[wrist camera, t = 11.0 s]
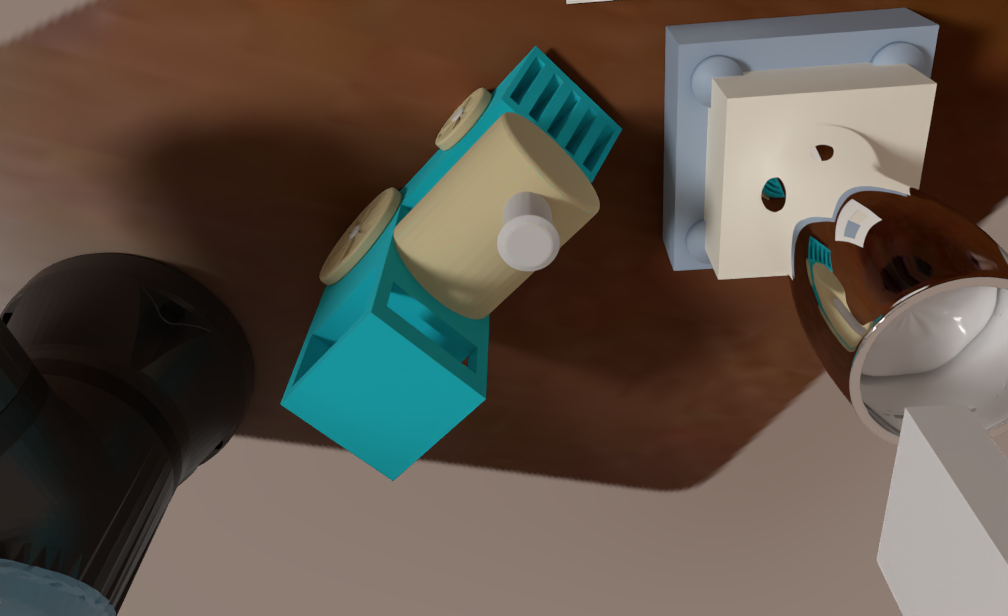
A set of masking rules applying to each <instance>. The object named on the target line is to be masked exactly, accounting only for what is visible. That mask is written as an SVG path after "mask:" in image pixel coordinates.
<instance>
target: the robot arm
mask: <svg viewBox="0 0 1008 616" xmlns="http://www.w3.org/2000/svg"><path fill="white" fill-rule="evenodd" d="M253 386H254V366H253V359H252V355H251V351H250V348H249V345H248V343H247V340H246V338H245V336H244V334H243V332H242V330H241V328H240V327H239V325H238V323H237V322H236V320H235V319H234V317H233V316H232V315H231V314H230V312H229V311H228V310H227V309H226V308H225V306H224V305H223V304H222V303H221V302H220V301H219V300H218V299H217V298H216V297H215V296H214V295H212V294H211V293H210V292H209V291H208V290H207V289H205V288H204V287H203V286H201V285H200V284H199V283H197V282H196V281H194V280H193V279H191V278H189V277H188V276H186V275H184V274H182V273H181V272H179V271H177V270H175V269H172V268H170V267H168V266H165V265H163V264H160V263H158V262H155V261H152V260H148V259H145V258H141V257H136V256H131V255H125V254H115V253H95V254H86V255H80V256H75V257H72V258H68V259H65V260H62V261H59V262H57V263H55V264H53V265H51V266H49V267H47V268H45V269H44V270H42V271H41V272H39V273H38V274H37V275H36V276H34V277H33V278H32V279H31V280H30V281H29V282H28V283H27V284H26V285H25V286H24V287H23V288H22V289H21V290H20V291H19V292H18V293H17V294H16V295H15V296H14V297H13V298H12V299H11V300H10V302H9V303H8V304H7V306H6V307H5V309H4V310H3V312H2V313H1V315H0V616H117V614H118V612H119V609H120V607H121V605H122V603H123V601H124V599H125V597H126V594H127V592H128V590H129V588H130V586H131V584H132V582H133V580H134V577H135V575H136V573H137V571H138V569H139V567H140V564H141V562H142V560H143V558H144V556H145V554H146V552H147V550H148V547H149V545H150V543H151V541H152V539H153V537H154V535H155V532H156V530H157V528H158V526H159V524H160V522H161V520H162V517H163V515H164V513H165V511H166V509H167V507H168V504H169V502H170V500H171V498H172V496H173V494H174V492H175V490H176V488H177V487H178V486H179V485H180V484H181V483H182V482H183V481H185V480H186V479H187V478H188V477H189V476H190V475H191V474H192V473H193V472H194V471H195V470H196V469H197V467H198V466H199V465H201V464H203V463H205V462H206V461H208V460H209V459H211V458H212V457H213V456H214V455H216V454H217V453H218V452H219V451H220V450H221V449H222V448H223V447H224V446H225V445H226V444H227V443H228V442H229V440H230V439H231V438H232V436H233V435H234V433H235V432H236V430H237V429H238V427H239V425H240V422H241V420H242V418H243V416H244V414H245V411H246V409H247V407H248V405H249V402H250V399H251V396H252V392H253ZM877 562H878V564H879V567H880V569H881V571H882V573H883V575H884V577H885V579H886V581H887V583H888V585H889V587H890V589H891V591H892V594H893V596H894V598H895V600H896V602H897V604H898V606H899V608H900V610H901V612H902V614H903V616H1008V459H1007V458H1006V457H1005V456H1004V454H1003V453H1002V452H1001V450H1000V449H999V448H998V446H997V445H996V444H995V442H994V441H993V440H992V438H991V437H990V436H989V434H988V433H987V432H986V430H985V429H984V428H983V426H982V425H981V424H980V422H979V421H978V420H977V418H976V417H975V416H974V414H973V413H972V412H971V410H970V409H969V408H968V406H967V405H966V404H954V405H936V406H918V407H905V411H904V417H903V422H902V427H901V433H900V438H899V443H898V449H897V454H896V459H895V464H894V470H893V475H892V480H891V486H890V491H889V497H888V502H887V507H886V513H885V518H884V523H883V529H882V534H881V540H880V544H879V549H878V556H877Z"/></svg>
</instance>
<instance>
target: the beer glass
mask: <svg viewBox="0 0 1008 616" xmlns="http://www.w3.org/2000/svg"><path fill="white" fill-rule="evenodd" d="M748 201H749V208H750V212H751V215H752V218H753V220H754V222H755V224H756V226H757V227H758V228H759V230H760V231H761V232H762V233H763V235H764V236H765V237H766V238H768V239H769V240H770V241H771V242H772V243H773V244H775V245H776V246H777V247H779V248H780V249H781V250H782V251H783V254H784V258H785V263H786V268H787V274H788V279H789V284H790V288H791V293H792V297H793V301H794V304H795V307H796V311H797V314H798V317H799V320H800V323H801V325H802V328H803V330H804V332H805V334H806V336H807V338H808V340H809V342H810V344H811V346H812V348H813V350H814V352H815V353H816V355H817V357H818V358H819V360H820V361H821V363H822V365H823V366H824V368H825V370H826V371H827V373H828V374H829V375H830V377H831V378H832V379H833V381H834V382H835V384H836V385H837V387H838V388H839V389H840V391H841V392H842V393H843V395H844V396H845V397H846V398H847V400H848V401H849V403H850V404H851V405H852V407H853V408H854V410H855V412H856V414H857V415H858V417H859V419H860V420H861V421H862V423H863V424H864V425H865V426H866V427H867V428H868V429H869V430H870V431H871V432H873V433H874V434H875V435H877V436H878V437H880V438H881V439H883V440H885V441H887V442H889V443H891V444H894V445H897V446H898V443H899V438H900V433H901V427H902V422H903V417H904V411H905V407H918V406H936V405H954V404H966V405H967V406H968V408H969V409H970V410H971V412H972V413H973V414H974V416H975V417H976V418H977V420H978V421H979V422H980V424H981V425H982V426H983V428H984V429H985V430H986V432H987V433H988V434H989V436H990V437H991V438H992V437H994V436H996V435H998V434H1000V433H1002V432H1004V431H1006V430H1008V254H1007V253H1006V252H1005V251H1004V250H1003V249H1002V248H1001V247H1000V246H999V245H998V244H997V243H996V242H995V241H994V240H993V239H992V238H991V237H990V236H989V235H988V234H987V233H986V232H985V231H983V230H982V229H981V228H980V227H978V226H977V225H976V224H975V223H973V222H972V221H971V220H970V219H969V218H967V217H966V216H965V215H963V214H962V213H960V212H959V211H957V210H955V209H954V208H952V207H950V206H949V205H947V204H945V203H944V202H942V201H940V200H938V199H937V198H935V197H933V196H931V195H929V194H926V193H924V192H922V191H920V190H918V189H916V188H914V187H911V186H909V185H907V184H905V183H902V182H900V181H898V180H896V179H894V178H892V177H891V176H889V175H888V173H887V172H886V170H885V168H884V165H883V163H882V160H881V158H880V156H879V154H878V153H877V151H876V149H875V148H874V147H873V145H872V144H871V143H870V142H869V141H868V140H867V139H866V138H864V137H863V136H861V135H860V134H858V133H856V132H854V131H852V130H850V129H847V128H844V127H840V126H833V125H819V126H812V127H808V128H804V129H801V130H798V131H796V132H794V133H792V134H790V135H788V136H786V137H784V138H783V139H781V140H780V141H779V142H777V143H776V144H775V145H774V146H773V147H771V148H770V149H769V150H768V151H767V152H766V154H765V155H764V156H763V157H762V159H761V160H760V162H759V163H758V165H757V167H756V168H755V170H754V173H753V175H752V178H751V181H750V185H749V192H748Z"/></svg>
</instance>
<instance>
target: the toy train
mask: <svg viewBox="0 0 1008 616" xmlns="http://www.w3.org/2000/svg"><path fill="white" fill-rule="evenodd" d="M621 131H622V128H621V127H620V126H619V125H618V124H617V123H615V122H614V121H613V120H612V119H611V118H610V117H609V116H608V115H607V114H606V113H605V112H604V111H603V110H602V109H601V108H600V107H599V106H598V105H597V104H596V103H595V102H594V101H593V100H592V99H591V98H589V97H588V96H587V95H586V94H585V93H584V92H583V91H582V90H581V89H580V88H579V87H578V86H577V85H576V84H575V83H574V82H573V81H572V80H571V79H570V78H569V77H568V76H567V75H566V74H565V73H563V72H562V71H561V70H560V69H559V68H558V67H557V66H556V65H555V64H554V63H553V62H552V61H551V60H550V59H549V58H548V57H547V56H546V55H545V54H544V53H543V52H542V51H541V50H540V49H539V48H537V47H536V46H535V47H534V48H533V49H532V50H531V51H530V53H529V54H528V55H527V56H526V57H525V58H524V59H523V60H522V61H521V62H520V63H519V64H518V65H517V66H516V68H515V69H514V70H513V71H512V72H511V73H510V74H509V75H508V76H507V77H506V78H505V79H504V80H503V81H502V83H501V84H500V85H499V86H498V87H497V88H496V89H495V90H494V91H493V92H492V93H490V92H488V91H487V90H486V89H485V88H479V89H478V90H476V91H475V92H473V93H472V94H471V95H470V96H469V97H468V98H467V99H466V100H465V101H464V102H463V103H462V104H461V105H460V106H459V107H458V108H457V109H456V111H455V112H454V113H453V114H452V115H451V117H450V118H449V119H448V121H447V122H446V123H445V125H444V126H443V127H442V129H441V131H440V132H439V134H438V136H437V138H436V145H437V146H438V147H439V148H440V149H439V150H438V151H437V152H436V153H435V154H434V155H433V156H432V158H431V159H430V160H429V161H428V162H427V163H426V164H425V165H424V166H423V167H422V168H421V169H420V170H419V171H418V173H417V174H416V175H415V176H414V177H413V178H412V179H411V180H410V181H409V182H408V183H407V184H406V185H405V186H404V188H403V189H402V190H401V191H400V192H399V191H398V190H397V189H395V188H393V187H391V188H388V189H386V190H385V191H383V192H382V193H381V194H379V195H378V196H377V197H376V198H375V199H374V200H373V201H372V202H371V203H370V204H369V205H368V206H367V207H366V208H365V209H364V210H363V211H362V212H361V213H360V215H359V216H358V217H357V218H356V219H355V221H354V222H353V223H352V224H351V225H350V226H349V228H348V229H347V230H346V232H345V233H344V234H343V236H342V237H341V238H340V240H339V241H338V242H337V244H336V245H335V247H334V248H333V250H332V251H331V253H330V254H329V256H328V258H327V259H326V261H325V263H324V265H323V267H322V269H321V271H320V276H319V278H320V280H321V281H322V282H323V283H324V284H326V287H325V290H324V292H323V295H322V297H321V300H320V303H319V305H318V308H317V310H316V313H315V315H314V318H313V321H312V323H311V326H310V328H309V331H308V334H307V336H306V339H305V341H304V344H303V346H302V349H301V352H300V354H299V357H298V359H297V362H296V364H295V367H294V370H293V372H292V375H291V377H290V380H289V382H288V385H287V388H286V390H285V393H284V395H283V398H282V401H281V403H280V405H282V406H283V407H285V408H286V409H288V410H289V411H291V412H292V413H294V414H295V415H297V416H298V417H299V418H301V419H302V420H304V421H305V422H307V423H308V424H310V425H311V426H313V427H314V428H316V429H317V430H319V431H320V432H322V433H323V434H325V435H326V436H327V437H329V438H330V439H332V440H333V441H335V442H336V443H338V444H339V445H341V446H342V447H344V448H345V449H347V450H348V451H350V452H351V453H352V454H354V455H355V456H357V457H358V458H360V459H361V460H363V461H364V462H366V463H367V464H369V465H370V466H372V467H373V468H375V469H376V470H378V471H379V472H380V473H382V474H383V475H385V476H387V477H388V478H389V479H391V480H392V481H394V480H395V479H396V478H397V477H398V476H399V475H401V473H403V472H404V471H405V470H406V469H407V468H408V467H410V466H411V465H412V464H413V463H414V462H415V461H416V460H418V459H419V458H420V457H421V456H422V455H423V454H424V453H425V452H427V451H428V450H429V449H430V448H431V447H432V446H433V445H435V444H436V443H437V442H438V441H439V440H440V439H441V438H442V437H444V436H445V435H446V434H447V433H448V432H449V431H450V430H452V429H453V428H454V427H455V426H456V425H457V424H458V423H459V422H461V421H462V420H463V419H464V418H465V417H466V416H467V415H469V414H470V413H471V412H472V411H473V410H474V409H475V408H476V407H478V406H479V405H480V404H481V403H482V402H483V401H484V400H486V388H487V366H488V343H489V321H490V313H491V312H492V311H493V310H494V309H495V308H496V307H497V306H498V305H499V304H500V303H501V302H503V301H504V300H505V299H506V298H507V297H508V296H509V295H510V294H511V293H512V292H513V291H514V290H515V289H516V288H518V287H519V286H520V285H521V284H522V283H523V282H524V281H525V280H526V279H527V278H528V277H529V276H530V275H531V274H533V273H534V272H535V271H536V270H540V269H542V268H544V267H546V266H547V265H549V264H550V263H551V262H552V261H553V260H554V259H555V257H556V256H557V254H558V251H559V248H560V247H561V246H562V245H564V244H565V243H566V242H567V241H568V240H569V239H570V238H571V237H572V236H573V235H574V234H575V233H576V232H577V231H579V230H580V229H581V228H582V227H583V226H584V225H585V224H586V223H587V222H588V221H589V220H590V219H591V218H592V217H593V216H595V215H596V214H597V213H598V211H599V208H600V202H599V199H598V196H597V194H596V192H595V190H594V188H593V186H592V185H591V183H592V182H593V180H594V178H595V176H596V175H597V173H598V171H599V169H600V168H601V166H602V164H603V162H604V161H605V159H606V157H607V155H608V153H609V152H610V150H611V148H612V146H613V145H614V143H615V141H616V139H617V138H618V136H619V134H620V132H621ZM468 356H469V359H468V368H467V367H466V366H465V365H463V364H462V363H461V362H462V361H463V360H464V359H466V358H467V357H468Z"/></svg>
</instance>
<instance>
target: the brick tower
mask: <svg viewBox="0 0 1008 616" xmlns="http://www.w3.org/2000/svg"><path fill="white" fill-rule="evenodd" d="M938 30H939V25H938V24H936V23H934V22H932V21H930V20H928V19H926V18H925V17H923V16H921V15H919V14H917V13H915V12H913V11H911V10H909V9H907V8H896V9H882V10H869V11H856V12H843V13H830V14H817V15H804V16H791V17H778V18H765V19H752V20H739V21H725V22H712V23H699V24H686V25H673V26H666V47H665V113H664V179H663V242H664V244H665V247H666V250H667V253H668V256H669V259H670V262H671V265H672V268H673V271H680V270H696V269H711V268H713V269H714V271H715V274H716V276H717V278H718V280H720V279H736V278H752V277H768V276H784V275H788V274H787V268H786V263H785V258H784V254H783V251H782V250H781V249H780V248H779V247H777V246H776V245H775V244H773V243H772V242H771V241H770V240H769V239H768V238H766V237H765V236H764V235H763V233H762V232H761V231H760V230H759V228H758V227H757V226H756V224H755V222H754V220H753V218H752V215H751V212H750V208H749V201H748V192H749V185H750V181H751V178H752V175H753V173H754V170H755V168H756V167H757V165H758V163H759V162H760V160H761V159H762V157H763V156H764V155H765V154H766V152H767V151H768V150H769V149H770V148H771V147H773V146H774V145H775V144H776V143H777V142H779V141H780V140H781V139H783V138H784V137H786V136H788V135H790V134H792V133H794V132H796V131H798V130H801V129H804V128H808V127H812V126H819V125H833V126H840V127H844V128H847V129H850V130H852V131H854V132H856V133H858V134H860V135H861V136H863V137H864V138H866V139H867V140H868V141H869V142H870V143H871V144H872V145H873V147H874V148H875V149H876V151H877V153H878V154H879V156H880V158H881V160H882V163H883V165H884V168H885V170H886V172H887V173H888V175H889V176H891V177H892V178H894V179H896V180H898V181H900V182H902V183H905V184H907V185H909V186H911V187H914V188H916V189H918V190H919V186H920V180H921V174H922V169H923V163H924V157H925V151H926V145H927V139H928V134H929V128H930V122H931V116H932V110H933V104H934V99H935V93H936V87H937V83H936V82H934V81H933V80H931V79H930V78H931V72H932V66H933V60H934V54H935V48H936V42H937V36H938Z"/></svg>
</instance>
